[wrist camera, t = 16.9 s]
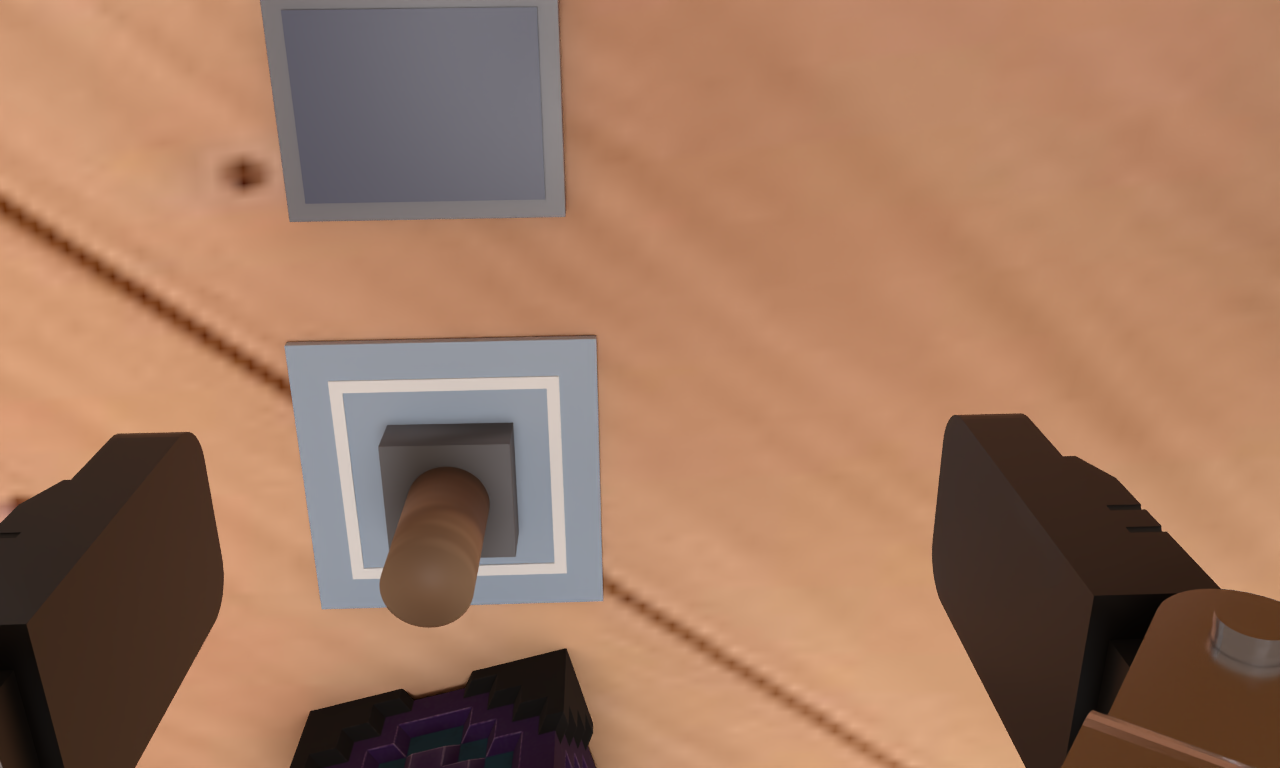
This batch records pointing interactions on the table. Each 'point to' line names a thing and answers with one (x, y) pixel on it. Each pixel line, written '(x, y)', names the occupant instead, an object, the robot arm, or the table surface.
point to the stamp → (444, 514)
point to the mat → (452, 394)
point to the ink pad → (417, 108)
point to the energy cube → (461, 724)
